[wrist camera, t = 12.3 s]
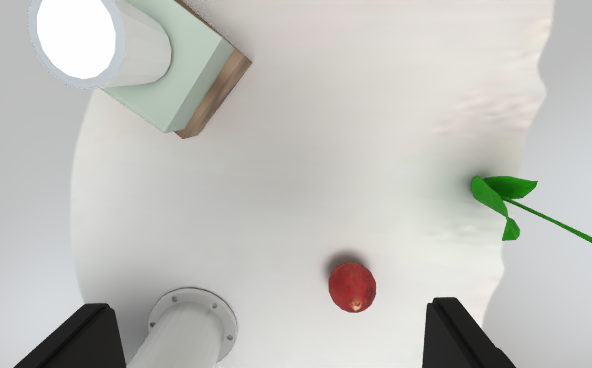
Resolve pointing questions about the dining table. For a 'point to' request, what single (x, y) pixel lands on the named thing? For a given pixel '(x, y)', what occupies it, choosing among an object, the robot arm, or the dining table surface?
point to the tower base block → (215, 86)
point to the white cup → (98, 42)
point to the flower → (507, 189)
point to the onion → (352, 287)
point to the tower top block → (176, 68)
